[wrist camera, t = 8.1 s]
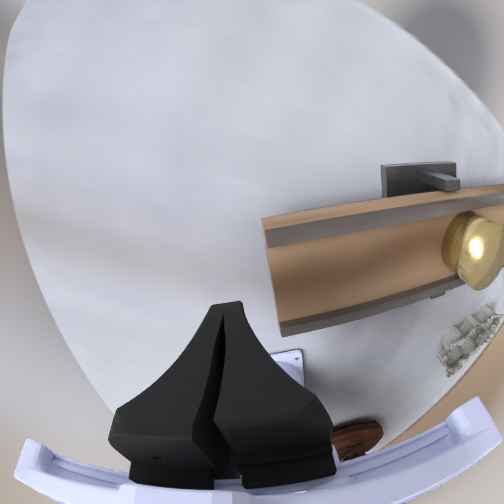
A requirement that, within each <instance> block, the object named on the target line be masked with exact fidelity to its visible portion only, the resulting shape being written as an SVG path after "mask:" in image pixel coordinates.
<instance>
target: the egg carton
mask: <svg viewBox="0 0 504 504" xmlns="http://www.w3.org/2000/svg"><path fill="white" fill-rule="evenodd" d="M503 315H504V314H499V315H497V314H496V313H495V312H494V311H493V310H492V309H491V308H490V307H488V306H487V305H486V304H485V305H484V306H482V308H481V310H480V312H479V313H478V314H477V315H476V316H475V317H473V316H472V315H471V314H470V315H469V316H467V317H466V319H465V321H464V322H463V324H462V325H461V326H459V327H458V328H456V327H455V325H453V326H451V327H450V328H449V329H448V331H447V333H446V334H445V335H444V336H443V337H442V338H441V341H440V342H441V344H442V345H443V346H444V348H443V349H442V350H441V351H440V352H439V353H438V355H437V357H438V358H439V360H440V361H441V363H442V364H443V365H444V366H445V367H448V368H447V369H446V376H447V377H450V376H451V375H454V374H455V372H457V371H458V370H459V369H460V368H462V363H463V362H466V361H467V360H468V358H469V357H470V356H471V355H472V354H474V353H475V352H476V351H477V350H478V349H479V348H480V347H481V346H482V345H483V343H484V342H486V343H487V342H489V341H490V340H491V339H492V338H491V335H492V334H493V335H495V330H496V329H497V326H498V324H500V322H499V320H500V318H501V317H502V316H503ZM469 335H470V337H469ZM467 337H469V338H468V339H467V340H466V341H465V342H464V344H463V345H462V346H460V347H459V346H456V345H457V343H458V341H459V340H461V339H463V338H467Z"/></svg>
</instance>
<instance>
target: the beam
mask: <svg viewBox="0 0 504 504" xmlns="http://www.w3.org/2000/svg"><path fill="white" fill-rule="evenodd" d="M470 210H472V211H474V212H476V213H478V214H480V215H482V216H483V217H485V218H487V219H489V220H491V221H493V222H495V223H496V224H498V225H500V226H502V227H503V228H504V184H501V185H490V186H480V187H470V188H461V189H460V190H455V191H435V192H427V193H419V194H411V195H404V196H396V197H389V198H382V199H375V200H368V201H362V202H355V203H349V204H342V205H336V206H330V207H324V208H318V209H312V210H306V211H300V212H294V213H288V214H283V215H277V216H272V217H266V218H261V221H262V227H263V233H264V239H265V245H266V251H267V257H268V263H269V269H270V275H271V281H272V288H273V294H274V300H275V306H276V313H277V319H278V325H279V329H280V333H281V336H282V337H286V336H291V335H296V334H301V333H305V332H310V331H314V330H318V329H323V328H327V327H331V326H335V325H339V324H343V323H347V322H350V321H354V320H358V319H361V318H365V317H369V316H372V315H375V314H379V313H382V312H386V311H389V310H392V309H395V308H398V307H402V306H405V305H408V304H411V303H414V302H417V301H420V300H423V299H425V298H428V297H431V296H434V295H437V294H439V293H442V292H445V291H447V290H450V289H453V288H455V287H458V286H460V285H463V284H465V283H466V282H465V281H464V280H462V279H461V278H460V277H459V276H458V275H456V274H455V273H454V272H453V271H452V270H450V269H449V268H448V267H447V266H446V265H445V264H444V262H443V260H442V255H441V248H442V241H443V237H444V234H445V232H446V229H447V228H448V226H449V224H450V222H451V221H452V220H453V218H454V217H455V216H456V215H457V214H459V213H460V212H465V211H470ZM502 267H504V264H503V266H502Z"/></svg>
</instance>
